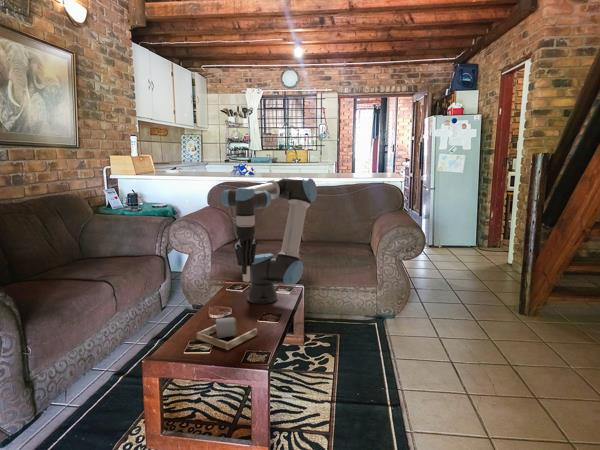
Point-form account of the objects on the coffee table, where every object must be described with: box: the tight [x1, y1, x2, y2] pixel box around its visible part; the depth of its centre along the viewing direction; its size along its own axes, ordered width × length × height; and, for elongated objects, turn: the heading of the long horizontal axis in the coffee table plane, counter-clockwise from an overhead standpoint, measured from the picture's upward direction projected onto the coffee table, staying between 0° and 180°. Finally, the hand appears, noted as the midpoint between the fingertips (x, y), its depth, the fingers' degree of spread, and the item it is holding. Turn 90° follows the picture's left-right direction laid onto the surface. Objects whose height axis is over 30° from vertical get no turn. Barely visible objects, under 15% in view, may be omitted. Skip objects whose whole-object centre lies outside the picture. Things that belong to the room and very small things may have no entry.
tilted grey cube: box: [215, 316, 238, 339], centre depth 167 cm, size 11×8×8 cm
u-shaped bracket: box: [196, 324, 258, 351], centre depth 167 cm, size 17×17×2 cm
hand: (246, 280), depth 174 cm, fingers closed
